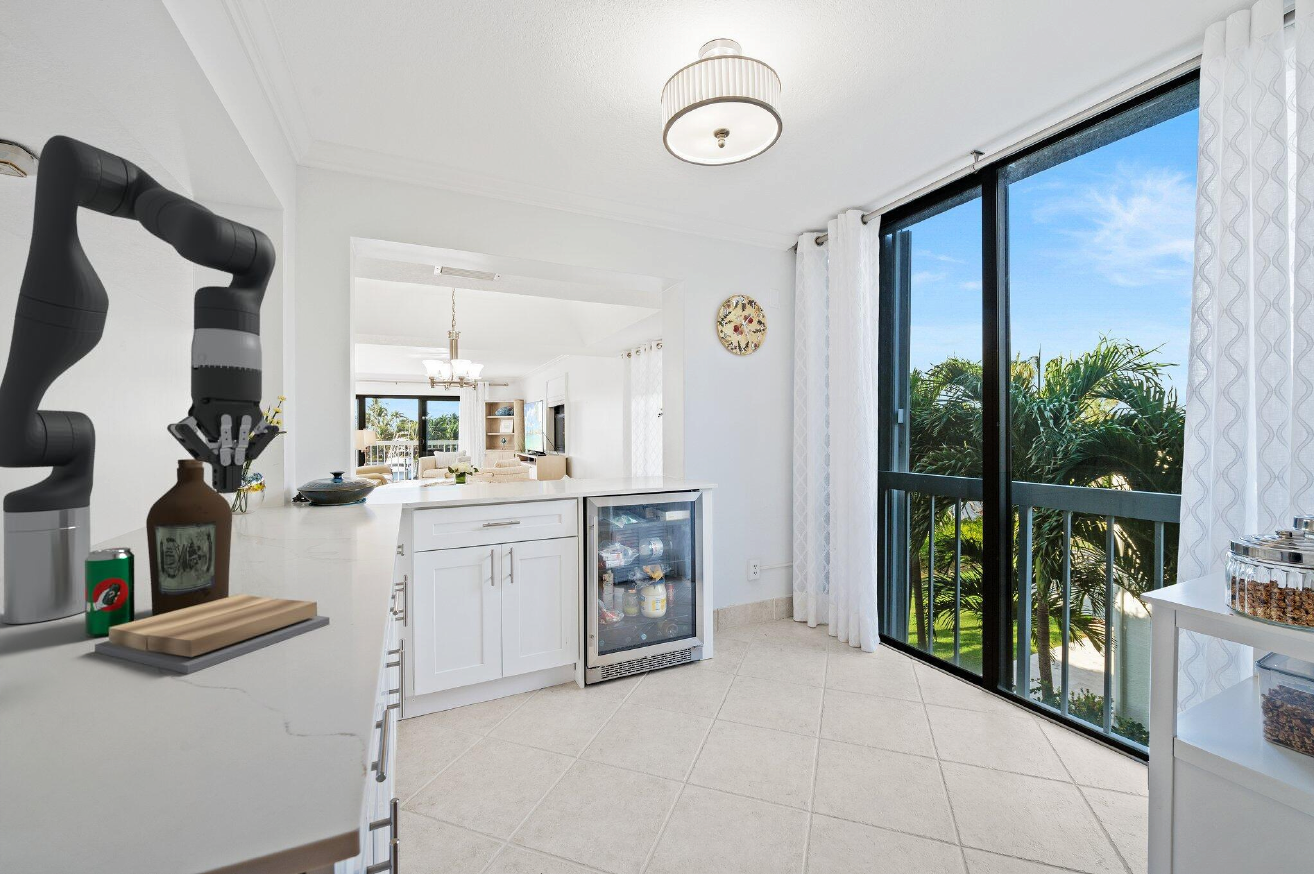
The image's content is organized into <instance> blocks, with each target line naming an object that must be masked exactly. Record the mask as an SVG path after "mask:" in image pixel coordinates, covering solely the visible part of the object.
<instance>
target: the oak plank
mask: <svg viewBox="0 0 1314 874" xmlns="http://www.w3.org/2000/svg"><path fill="white" fill-rule="evenodd" d="M274 599H275V598H269V597H268V598H267V597H262V596H256V595H248V594H242V593H241V594H240V593H239V594H236V595H233V596H229V597H227V598H223V599H219V600H215V601H212V602H208V603H204V604H200V605H196V606H192V607H188V608H184V609H180V610H176V611H172V612H168V613H165V614H161V615H157V616H149V617H146V618H141V619H137V620H135V621H133V622H129V623H125V624H121V625H118V626H114V627H110V628H109V636H108V641H109V643H113V644H118V645H122V646H127V647H131V648H136V649H140V650H145V651H147V650H148V637H147V635H148V634H152V633H155V632H159V631H163V630H166V629H170V628H173V627H177V626H181V625H184V624H188V623H191V622H195V621H198V620H202V619H206V618H209V617H213V616H216V615H220V614H224V613H227V612H231V611H234V610H238V609H241V608H245V607H249V606H252V605H256V604H259V603H263V602H267V601H270V600H274Z"/></svg>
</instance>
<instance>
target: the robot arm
mask: <svg viewBox="0 0 1314 874" xmlns="http://www.w3.org/2000/svg"><path fill="white" fill-rule="evenodd" d="M34 194H35V196H34V208H33V209H34V210H33V219H32V222H33V223H32V231H31V232H32V233H31V240H30V245H29V251H28V254H27V255H28V256H27V258H26V259H27V260H26V264H25V269H24V273H23V277H22V281H21V285H20V289H19V292H18V293H19V294H18V298H17V304H16V308H15V314H14V321H13V329H12V334H11V335H12V336H11V342H10V347H9V353H8V358H7V364H6V365H5V367H6V368H5V370H4V374H3V377H2V381H1V384H0V468H7V469H16V468H17V469H19V468H20V469H21V468H22V469H23V468H25V469H26V468H28V469H29V468H47V467H48V468H52V470H51V473H50V474H49V475H48V476H47V477H46V478H44V479H43V480H41V481H38V482H37V483H34V484H32V485H30V486H26V487H23V488H20V489H16V490H13V491H10V492H8V493H7V494H6V495H4V497H3V500H2V501H3V503H2V505H3V508H2V509H3V510H2V511H3V622H4V623H5V624H9V625H10V624H11V625H13V624H15V625H16V624H17V625H20V624H21V625H22V624H30V623H31V624H32V623H38V622H44V621H45V622H46V621H49V620H56V619H61V618H65V617H69V616H73V615H77V614H81V613H83V612H85V560H86V559H87V558H88V556H89V552H91V506H90V505H91V495H92V491H93V488H94V487H93V486H94V468H95V457H96V456H95V455H96V441H97V440H96V430H95V426H94V423H93V421H92V419H91V418H90V417H89V416H88V415H87V414H85V413H83V412H80V411H75V410H74V411H73V410H48V409H39V407H40V404H41V401H42V399H43V398H44V396H45V393H46V392H47V390H49V388H50V386H52V384H53V383H54V382H55V381H56V380H57V379H58V377H60V376H61V375H62V374H63V373H64V372H66V371H68V370H69V369H70V368H71V367H73V366H75V364H77V363H78V362H80V361H81V360H82V359H84V358H85V356H87V355H89V353H90V352H92V351H93V350H94V348H96V347H97V345H98V344H99V343H100V341H101V340H102V338H103V333H104V330H105V325H106V322H107V321H106V320H107V316H108V310H109V305H110V304H109V303H110V301H109V296H108V292H107V291H106V287H105V286H104V285H103V282H102V280H101V279H100V277H99V276H98V273H97V272H96V270H95V268H94V267H93V265H92V263H91V261H90V260H89V258H88V256H87V254H86V253H85V250H84V249H83V246H82V243H81V240H80V238H79V230H78V223H77V222H78V220H77V219H78V218H77V217H78V216H77V215H78V208H79V207H81V208H84V209H87V210H91V211H92V212H93V211H94V212H96V213H101V214H104V215H106V216H111V217H115V218H122V219H128V220H132V221H137V222H139V223H140V224H141V225H142V227H143V228H144V229H145V230H146V231H148V233H150V234H151V235H153V236H154V237H156V238H158V239H159V240H161V241H163V242H164V243H167V244H168V245H171V246H172V247H173V249H174V250H175V251H176V252H177V253H178V254H179V256H181V257H182V259H183V258H184V259H185V260H187V261H189V262H191V263H193V264H196V265H199V266H201V267H205V268H208V269H212V270H217V271H220V272H224V273H228V274H231V275H232V280H231V281H230V284H229V285H228V286H218V285H216V286H215V285H211V286H210V285H209V286H208V285H207V286H202V287H200V288H198V289H197V290H196V291H195V293H194V298H193V300H194V301H193V304H194V305H193V335H192V341H191V345H190V346H191V349H190V352H191V353H190V355H191V356H190V397H191V400H192V401H191V402H192V403H191V405H190V407H189V409H188V411H187V416H186V417H185V418H183V419H181V420H180V421H178V422H176V423H170V424H168V425H167V427H166V428H167V429H166V430H167V431H168V433H169V434H171V436H172V437H173V438H174V439H175V440H176V441H177V442H178V443H179V444H180V446H182V447H183V449H184V450H185V451H187V452H188V454H189V455H190V456H191V457H192V459H195V460H196V461H203V463H207V464H209V465H210V466H211V477H212V478H211V485H212V489H214V490H215V491H216V492H217V493H219V494H236V493H238V492H239V489H240V488H241V487H242V484H243V482H242V481H243V476H242V475H243V465H244V464H246V463H248V462H250V461H255V460H257V459H258V458H259V456H260V455H261V454H262V453H263V452H264V450H265V449H266V448H267V447H268V445H270V443H271V442H272V441H273V439H274V438H275V437H276V436H277V434H278V433H279V432H280V427H279V426H278V425H275V424H273V425H272V424H270V422H268V421H267V420H265V419H264V413H263V411H262V409H261V407H260V404H261V401H262V399H263V396H262V395H263V394H262V393H263V380H262V379H263V351H262V344H261V337H260V336H261V307H262V303H263V302H264V301H263V300H264V297H265V294H266V290H267V288H268V284H269V282H270V280H271V277H272V274H273V272H274V268H275V267H276V266H275V265H276V261H277V258H276V256H277V255H276V250H275V246H274V244H273V242H272V241H271V239H270V238H269V236H268V235H267V234H265V233H264V232H262V231H261V230H259V229H257V228H254V227H251V226H249V225H246V224H243V223H240V222H237V221H235V220H232V219H230V218H226V217H224V216H220V215H218V214H216V213H214V212H213V211H212V210H210V209H209V208H207V207H206V206H204V205H202V204H200V203H198V202H196V201H194V200H192V199H190V198H188V197H186V196H184V195H182V194H180V193H176V192H174V191H171V190H169V189H168V188H166V187H165V186H163V185H162V184H161V183H160V182H158V181H157V180H155V178H153V176H151V175H150V174H149V173H148V172H146V171H145V170H144V169H143V168H142V167H140V166H139V165H136V164H135V163H134V162H132V161H130V160H129V159H126V158H124V157H121V156H119V155H116V154H113V153H111V152H110V151H106V150H103V149H101V148H99V147H96V146H94V145H92V144H89V143H85V142H83V141H81V140H78V139H76V138H73V137H70V136H67V135H62V134H58V135H54V136H52V137H50V138H48V139H47V141H46V142H45V144H44V145H43V147H42V150H41V152H40V156H39V160H38V164H37V172H36V185H35V193H34ZM198 431H199V432H201V434H202V435H203V436H204V438H205V441H204V440H203V439H202V438H201V436H199V434H198ZM252 433H254V434H253V435H252V436H251V438H250V435H251V434H252ZM249 438H250V439H249Z"/></svg>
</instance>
